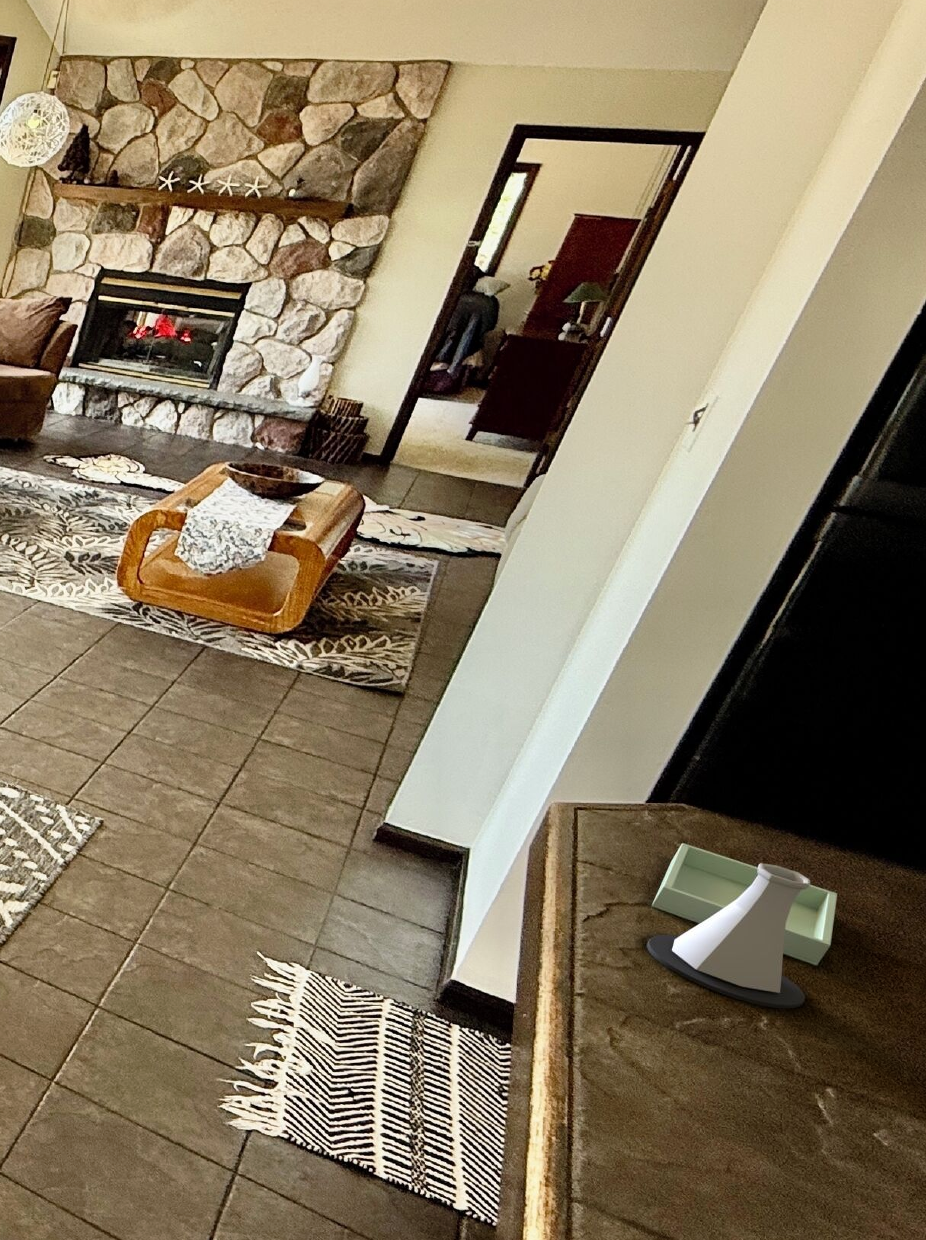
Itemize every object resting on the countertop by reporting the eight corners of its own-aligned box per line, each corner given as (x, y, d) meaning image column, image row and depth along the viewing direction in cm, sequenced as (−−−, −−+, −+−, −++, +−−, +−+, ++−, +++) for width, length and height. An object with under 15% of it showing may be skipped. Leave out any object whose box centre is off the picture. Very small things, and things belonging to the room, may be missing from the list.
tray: (671, 861, 121) (682, 842, 120) (824, 912, 113) (837, 893, 112) (651, 906, 112) (663, 886, 111) (816, 965, 104) (830, 945, 103)
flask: (762, 962, 103) (824, 869, 99) (796, 1005, 97) (864, 907, 93) (657, 934, 106) (712, 842, 102) (684, 973, 100) (744, 877, 96)
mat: (768, 961, 104) (770, 957, 104) (828, 1023, 96) (831, 1019, 95) (628, 926, 108) (630, 922, 108) (674, 983, 99) (676, 979, 99)
